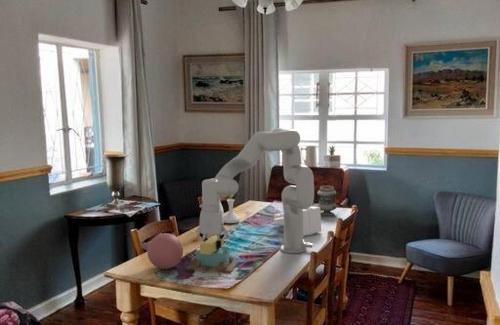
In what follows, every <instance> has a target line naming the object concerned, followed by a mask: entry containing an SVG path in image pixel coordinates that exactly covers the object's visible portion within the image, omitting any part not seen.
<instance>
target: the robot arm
mask: <svg viewBox="0 0 500 325" xmlns="http://www.w3.org/2000/svg"><path fill="white" fill-rule="evenodd" d="M300 142H301V136H300V133H299V132H298V130H295V129H291V128H283V127H282V128H281V127H278V128H275V129H273V130H272V131H256V132H255V133H254V134H253V135H252V136H251V137H250V139H249V140H248V141H247V143H246V144H245V145H244V147H243V148H242V150H240V152H239V153H238V155H236V156H235V157H234V158H232V159H230V160H229V161H228V162H227V163H226V164H224V165H223V167H221V169H219V171H218V173H217V174H216V175H215V177H214V179H212V178H208V179H204V180H202V182H201V191H202V192H201V195H202V196H201V197H202V199H201V200H202V203H201V204H199V208H200V209H201V210H200V213H199V214H200V215H199V225H198V227H197V229H196V230H195V233H196V234H198V235H199V236H200V238H201V239H202V243H203V242H205V241H206V240H208V239H209V238H208V235H212V236H214V235H216V236H217V250H220V249H221V239H222V238H223V237H224V238H225V236H227V235H228V234H229V231H228V229H227V228H226V227H225V224H224V223H225V222H223V215H224V214H223V215H222V211H221V210H220V202H221V195H225V196H226V197H227V196H228V197H230V196H231V195H234V194H236V193H237V192H238V191H239V188H240V187H239V184H238V182H237V180H235V179H234V177H236V176H237V175H238V174H240V173H242V172H244V171H246V170H249V169H251V168H253V167H255V165H256V164H257V162H258V161H259V159H260V158H261V157H262V155H263V154H264V153H265V152H279V151H281V153H282V161H283V162H282V164H283V177H284V178H283V179H284V180H285V181H286V182H288V183H289V184H290V185H287V186H285V187H283V189H282V192H281V203H282V208H283V209H282V210H283V213H284V224H283V244H282V245H281V246H280V250H281V252H283V253H286V254H292V255H293V254H301V253H306V251H307V248H309V249H312V248H313V243H311V242H306V241H305V239H304V236H303V209H308V208H310V207H311V206H312V205H313V203H314V199H315V183H314V182H315V178H314V173H313V170H312V169H311V168H310V167H309V166H307V165H303V164H302V153H301V149H300V145H299V144H300ZM291 184H293V185H291ZM234 196H235V195H234Z"/></svg>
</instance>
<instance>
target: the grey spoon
mask: <svg viewBox="0 0 500 325" xmlns="http://www.w3.org/2000/svg"><path fill="white" fill-rule="evenodd" d="M235 194H236V193H235ZM235 194H234V195H230V196H225V195H220V197H223V198H228V199H226V201H227V204H228V212H227V213H226V214H225V215H224V223H226V224H237V223H240V221H241V217H240V216H239V215H237V214H236V213H235V212H234V207H233V206H234V202H235V199H234V198H233V197H234V196H235Z"/></svg>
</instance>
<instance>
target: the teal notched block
mask: <svg viewBox="0 0 500 325" xmlns="http://www.w3.org/2000/svg"><path fill="white" fill-rule="evenodd" d="M222 248H223V249H219V250H216V251H214V252H213V253H211V254H210V255H207V254H200V246H199V247H198V248H196V251H195V257H196V260H197V261H200V262H201V265H204V266H218V267H219V263H220V262H226V263H227V266H228V265H229V264H230V260H229V256H230V250H229V246H226V245H225V246H224V245H223V246H222Z"/></svg>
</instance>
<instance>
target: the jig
mask: <svg viewBox="0 0 500 325" xmlns="http://www.w3.org/2000/svg"><path fill="white" fill-rule="evenodd" d="M229 260H230V264H229V265H228V266H227V263H226V262H220V263H219V267H218V266H204V265H201V262H200V261H197V260H196V256H193V257H192V258H191V259H190V264H188V265H187V266H186V271H198V272H210V273H224V274H225V273H226V274H231V272H233V271H234V270H235V268H236V267H237V265H238V264H239V261H238V260H233V255H229ZM233 269H234V270H233Z"/></svg>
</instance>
